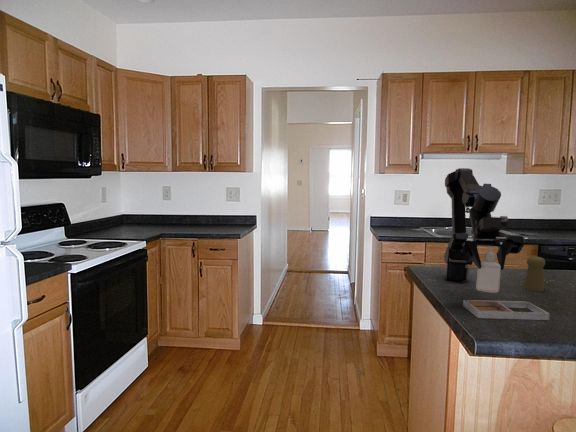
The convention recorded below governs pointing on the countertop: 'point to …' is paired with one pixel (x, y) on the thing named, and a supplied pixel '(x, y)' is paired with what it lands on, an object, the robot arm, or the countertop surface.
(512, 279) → the countertop surface
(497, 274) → the eye dropper bottle
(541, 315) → the tray
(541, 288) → the cork
